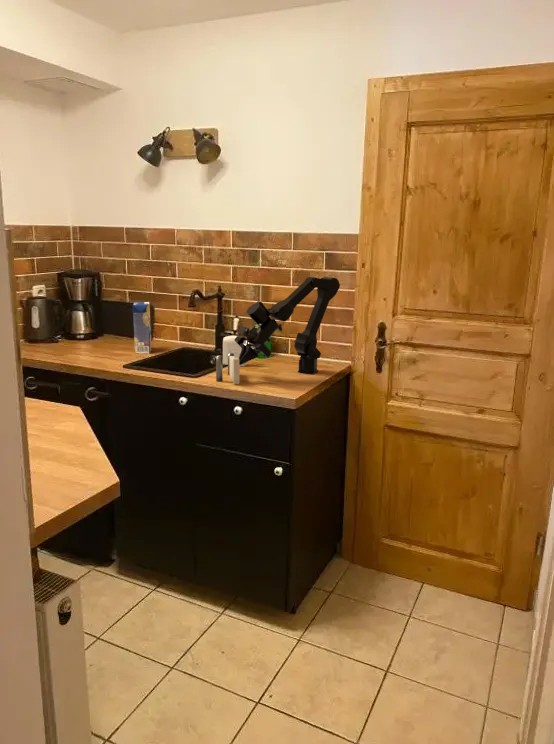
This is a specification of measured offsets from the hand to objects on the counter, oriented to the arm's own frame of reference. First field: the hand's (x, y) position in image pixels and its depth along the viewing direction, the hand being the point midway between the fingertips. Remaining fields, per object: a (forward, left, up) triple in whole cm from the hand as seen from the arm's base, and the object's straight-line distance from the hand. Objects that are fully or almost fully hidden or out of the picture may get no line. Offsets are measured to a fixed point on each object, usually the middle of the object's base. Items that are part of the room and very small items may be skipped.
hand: (238, 364), depth 210 cm
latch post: (+7, +2, -7) cm, 10 cm away
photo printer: (+16, -24, -7) cm, 29 cm away
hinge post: (+8, -8, -7) cm, 14 cm away
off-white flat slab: (+3, -2, -7) cm, 7 cm away
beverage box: (+67, -27, -7) cm, 72 cm away
